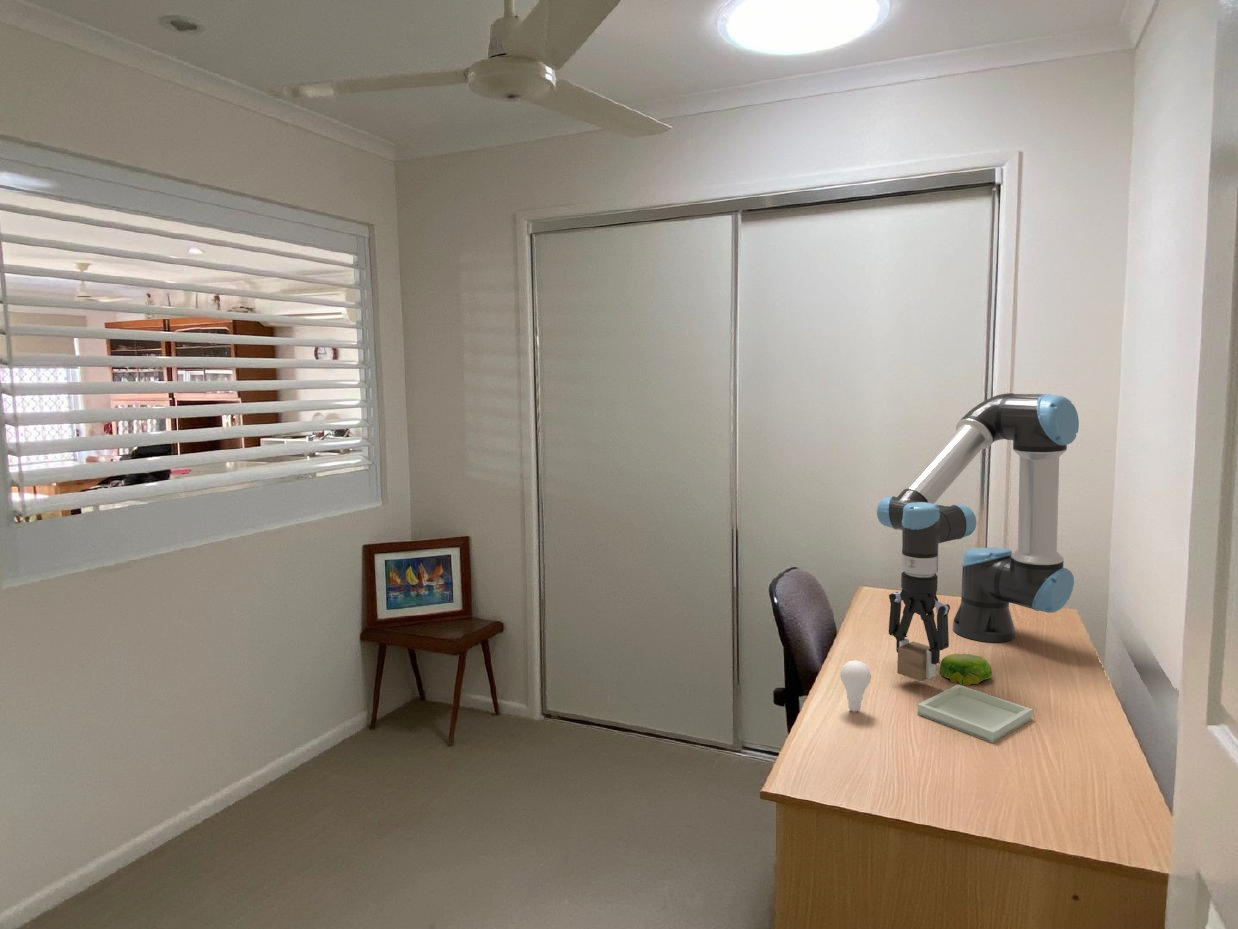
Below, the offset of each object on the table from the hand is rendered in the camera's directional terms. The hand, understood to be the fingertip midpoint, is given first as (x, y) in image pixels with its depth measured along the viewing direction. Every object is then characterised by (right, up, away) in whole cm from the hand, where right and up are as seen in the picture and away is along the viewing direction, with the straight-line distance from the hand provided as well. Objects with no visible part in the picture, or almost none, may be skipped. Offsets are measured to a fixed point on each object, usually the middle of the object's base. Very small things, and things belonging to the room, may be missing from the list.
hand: (917, 671), depth 176 cm
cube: (0, 0, 0) cm, 0 cm away
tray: (+6, -5, -15) cm, 17 cm away
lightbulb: (-18, -5, -12) cm, 22 cm away
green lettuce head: (+14, -3, +6) cm, 15 cm away
